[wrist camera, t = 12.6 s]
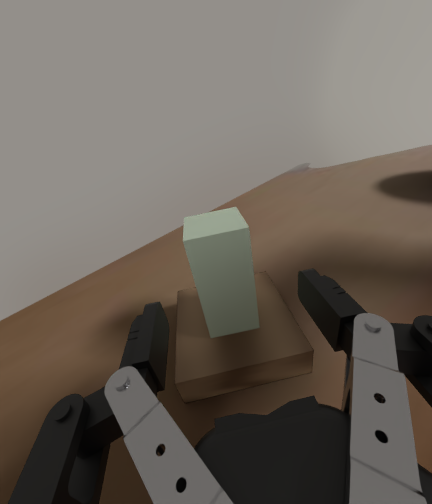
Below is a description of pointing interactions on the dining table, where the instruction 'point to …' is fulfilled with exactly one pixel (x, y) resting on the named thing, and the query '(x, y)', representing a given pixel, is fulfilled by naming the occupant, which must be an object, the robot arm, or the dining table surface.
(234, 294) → the pillar
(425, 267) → the dining table surface
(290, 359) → the base slab
